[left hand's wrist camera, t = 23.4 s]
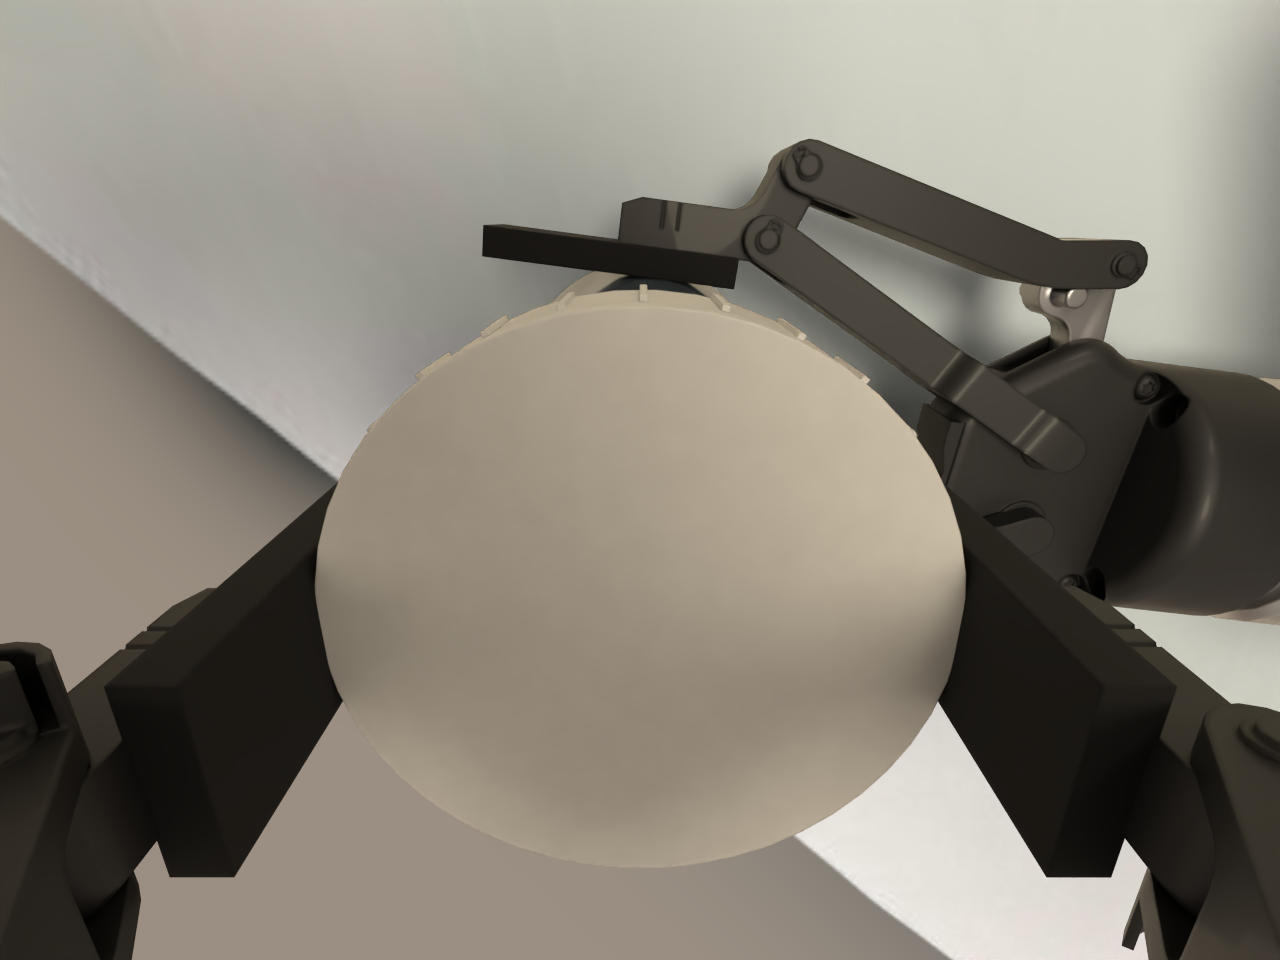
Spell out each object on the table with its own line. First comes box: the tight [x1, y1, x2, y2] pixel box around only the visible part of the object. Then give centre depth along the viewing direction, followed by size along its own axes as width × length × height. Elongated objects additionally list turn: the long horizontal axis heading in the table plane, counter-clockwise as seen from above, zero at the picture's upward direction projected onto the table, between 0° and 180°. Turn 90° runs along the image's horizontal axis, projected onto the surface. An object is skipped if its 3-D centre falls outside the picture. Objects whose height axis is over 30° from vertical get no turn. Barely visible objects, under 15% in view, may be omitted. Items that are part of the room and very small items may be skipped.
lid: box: [315, 284, 966, 868], centre depth 11 cm, size 10×10×2 cm
